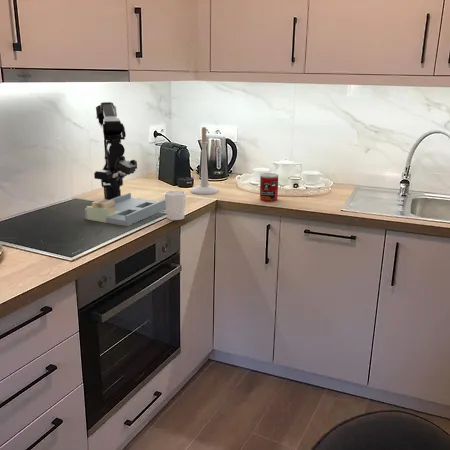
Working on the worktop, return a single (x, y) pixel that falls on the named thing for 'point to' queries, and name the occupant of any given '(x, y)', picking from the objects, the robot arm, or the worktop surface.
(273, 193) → the canned food
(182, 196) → the white cup
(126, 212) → the board
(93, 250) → the worktop surface
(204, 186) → the candlestick
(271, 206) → the worktop surface
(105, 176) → the robot arm
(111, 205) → the maple block
